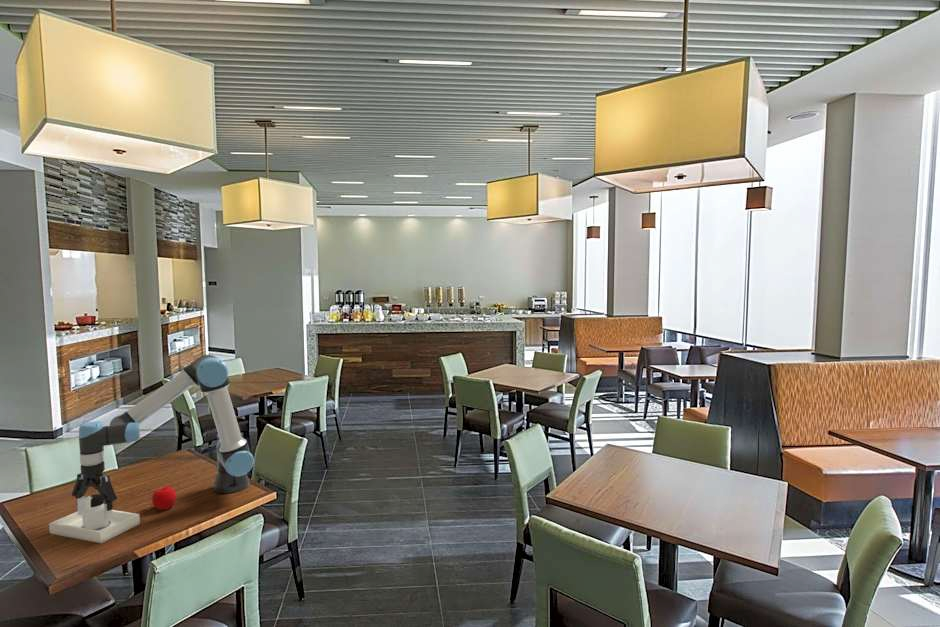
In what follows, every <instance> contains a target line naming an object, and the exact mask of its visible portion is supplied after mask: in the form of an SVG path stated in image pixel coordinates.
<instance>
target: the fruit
mask: <svg viewBox="0 0 940 627" xmlns="http://www.w3.org/2000/svg"><path fill="white" fill-rule="evenodd" d="M176 501H177V493H176V491H175V489H174V488H172V487H171V486H163V487H162V485H160V488H158V489H156V490H155V491H154V492H153V494H152V497H151V503H152V505H153V506H154V508H155V509H156V510H159V511H164V510H168V509H170V508H172V507H173V506H174V504H175V503H176Z"/></svg>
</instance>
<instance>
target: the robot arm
mask: <svg viewBox="0 0 940 627" xmlns="http://www.w3.org/2000/svg"><path fill="white" fill-rule="evenodd" d="M230 385H231V382H230V378H229V368H228V365H227V364H226V363H225V362H224V360H222V359H221V358H219V357H216V356H215V355H211V354H204V355H200V356H199V357H197V358H196V359H195V360H193V361H192V362H190V363H189V364H187V365H186V366H185V367H184V368H182V369H181V372H180V373H179V374H178V375H176V376H175V377H173V378H172V379H171V380H169V381H168V382H167V383H165V384H164V385H161V387H159V388H158V389H156V390H155V391H153V392H152V393H150V394H149V395H148V396H146V397H144V398H143V399H141V400H140V401H139V402H138V403H136V404H135V405H133V406H132V407H130V408H129V409H127V410H126V411H125V412H123V413H122V414H119V415H115V416H114V417H113V418H112V419H111V421H110V423H109V425H104V424H103V422H102V421H90V422H85V423H82V424H81V425H80V426H79V427H78V442H79V443H78V444H79V463H80V473H77V474H76V481H75V484H74V487H73V488H72V493H71V497H75V499H76V506H77V511H78V515H81V514H82V509H83V508H85V498H86V492H87V491H88V490H89V488H90V487H91V488H94V489H95V490H97V491H98V494H100V495H101V496H102V498H103V499H104V503H103V504H104V520H107V519H109V518H111V517H112V510H114V509H113V508H114V507H113V502H114V501H117V499H118V497H117V495H116V492H115V490H114V487H113V485H112V482H111V478H110V476H109V475H106V476H103V473H104V472H105V470H106V468H105V461H104V460H105V455H104V454H105V451H104V450H105V449H104V447H106V446H113V445H121V444H126V443H132V442H137V441H138V440H140V434H141V433H140V424H141V423H143V422H145V421H146V420H147V419H149V418H150V417H151V416H153V415H155V414H156V413H157V412H159V411H160V410H162V409H163V408H165V407H166V406H167V405H168V404H170V403H171V402H173V401H174V400H175V399H177V398H178V397H180V396H182V394H184V393H185V392H187V391H188V390H190V389H191V388H192V387H197V386H199V389H200V391H201V393H203V394H205V395H206V398H207V402H208V404H209V408H210V412H211V415H212V419H213V421H214V424H215V428H216V431H217V435H218V438H219V440H217V443H216V463H217V465H216V467H217V469H216V470H217V473H216V477H215V480H214V483H213V490H214V492H216V493H219V494H220V493H221V494H228V493H231V494H232V493H236V492H239V491H243V490H245V489H247V488H248V487H249V486H250V478H249V477H248V473H249V472H250V471H251V470H252V468H254V464H255V459H254V456H253V454H252V453H251V450H250V447H249V443H248V441H247V439H245V438H244V437H243V436H242V434H241V430H240V426H239V423H238V419H237V416H236V412H235V410H234V406H233V403H232V399H231V395H230V393H229V390H228V389H229V386H230Z"/></svg>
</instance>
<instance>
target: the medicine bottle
mask: <svg viewBox="0 0 940 627" xmlns="http://www.w3.org/2000/svg"><path fill="white" fill-rule="evenodd" d="M103 503H105V501H104V499H103V498H102V496H101V495H100V493H95V494H91V495H89V496H87V497H85V508H83V509H82V520H83V527H84V528H86V529H92V530H95V529H99V528H102V527H106V526H108V519H107V520H104V504H103Z"/></svg>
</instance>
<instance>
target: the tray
mask: <svg viewBox="0 0 940 627" xmlns="http://www.w3.org/2000/svg"><path fill="white" fill-rule="evenodd" d="M140 517H141V516H140V513H134V512H129V511H123V510H116V509H112V517H111V518H109V519H108V526H106V527H102V528H99V529H95V530H92V529H86V528H84V527H83V520H82V514H81V515H78V510H77V511H75V512H73V513H71V514H68V515H66V516H63V517H60V518H58V519H56V520H54V521H51V522H49V524H48V525H49V527H48V528H49V534H51V535H56V536H59V537H60V536H61V537H65V538H72V539H77V540H82V541H87V542H93V543H97V544H103V543H105V542H107V541H109V540H110V539H113V538H115V537H117V536H118V535H121V534H123V533H125V532H127V531H128V530H131V529H132V528H136V527H137V526H138V525H139V526H140V522H141V521H140V520H141V518H140Z"/></svg>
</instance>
